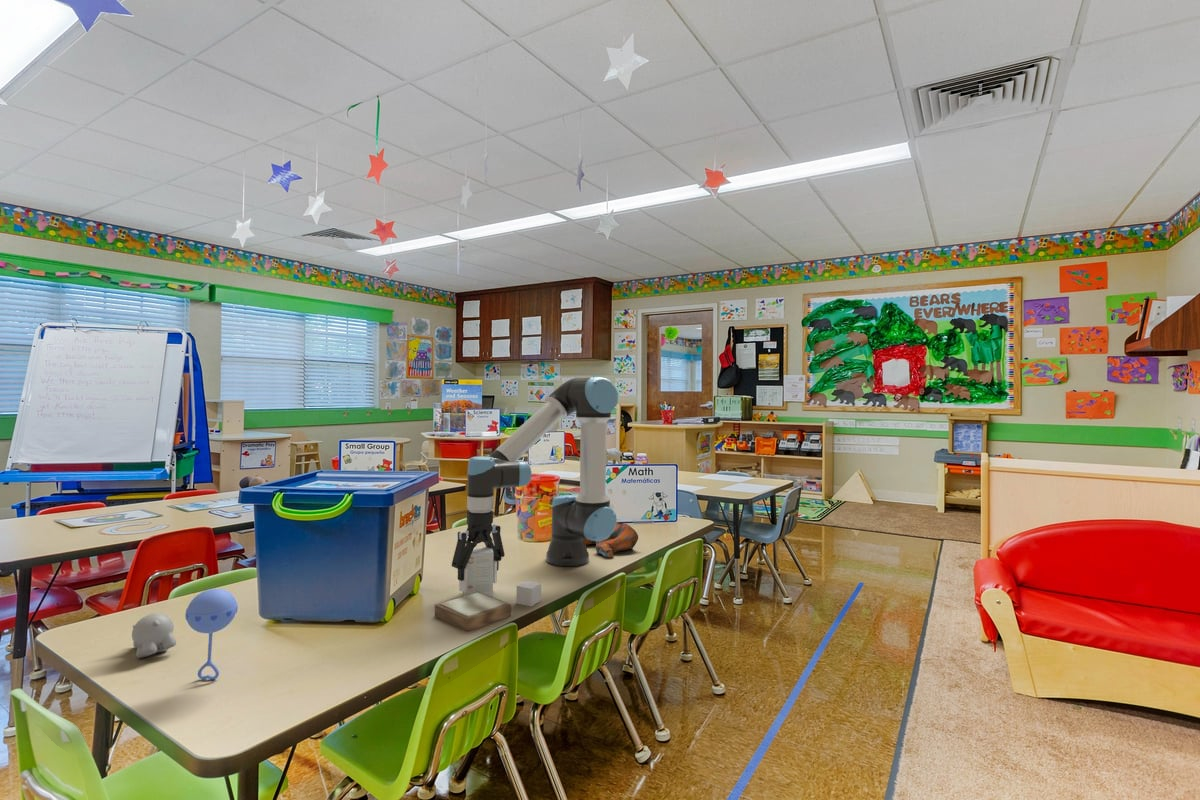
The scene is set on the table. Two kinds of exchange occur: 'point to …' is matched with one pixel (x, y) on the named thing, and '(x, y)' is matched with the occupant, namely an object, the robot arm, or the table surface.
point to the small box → (480, 571)
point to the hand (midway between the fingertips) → (478, 586)
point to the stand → (472, 610)
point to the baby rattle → (211, 618)
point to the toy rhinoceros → (153, 634)
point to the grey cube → (528, 593)
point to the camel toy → (616, 540)
